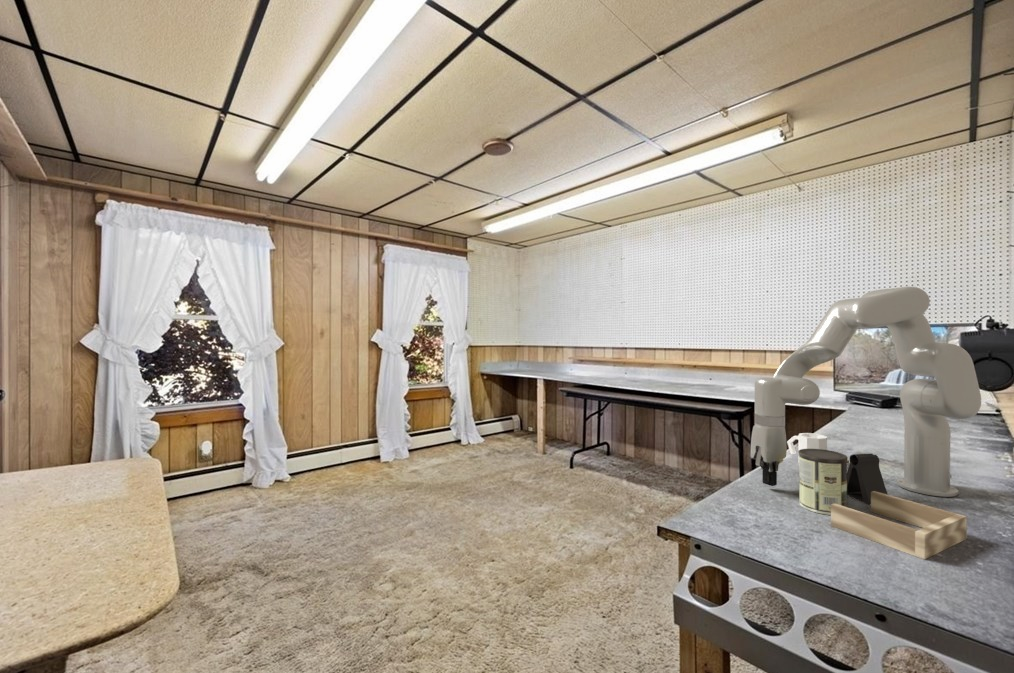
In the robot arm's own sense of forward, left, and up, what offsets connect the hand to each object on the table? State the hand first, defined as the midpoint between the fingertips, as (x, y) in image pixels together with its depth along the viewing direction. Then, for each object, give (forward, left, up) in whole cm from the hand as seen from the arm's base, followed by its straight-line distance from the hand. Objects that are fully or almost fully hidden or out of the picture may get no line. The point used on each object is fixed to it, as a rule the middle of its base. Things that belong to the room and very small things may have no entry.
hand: (769, 484), depth 126 cm
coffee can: (0, +14, -2) cm, 14 cm away
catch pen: (0, +29, -2) cm, 29 cm away
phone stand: (-17, +15, -2) cm, 23 cm away
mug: (-36, -10, -2) cm, 37 cm away
